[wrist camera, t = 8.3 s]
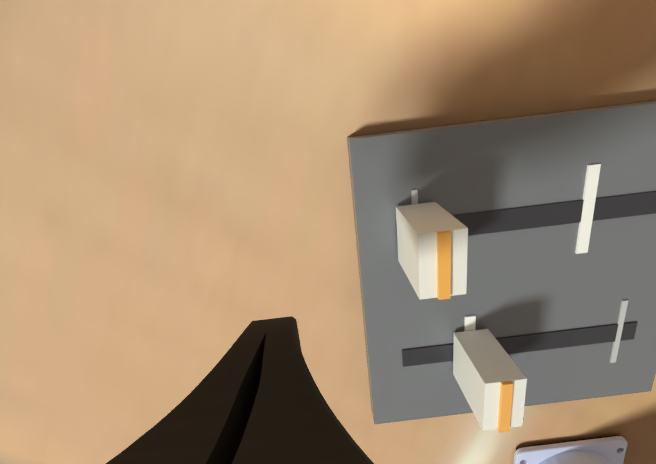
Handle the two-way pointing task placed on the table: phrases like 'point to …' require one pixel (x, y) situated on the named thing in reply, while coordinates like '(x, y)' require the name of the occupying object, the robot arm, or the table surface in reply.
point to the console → (514, 255)
